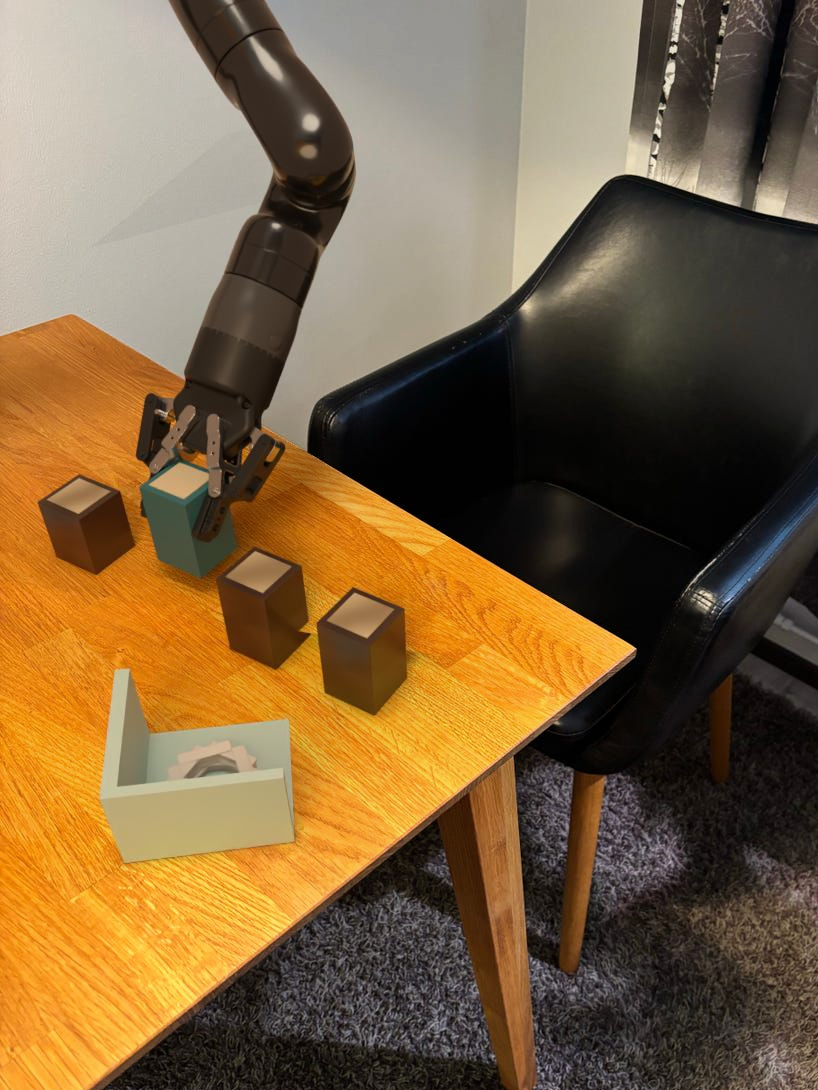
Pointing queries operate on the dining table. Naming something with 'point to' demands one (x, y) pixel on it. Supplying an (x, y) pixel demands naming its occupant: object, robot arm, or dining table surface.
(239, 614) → the walnut block
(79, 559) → the walnut block
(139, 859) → the l-shaped corner panel
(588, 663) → the dining table surface
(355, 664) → the walnut block
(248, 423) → the robot arm
